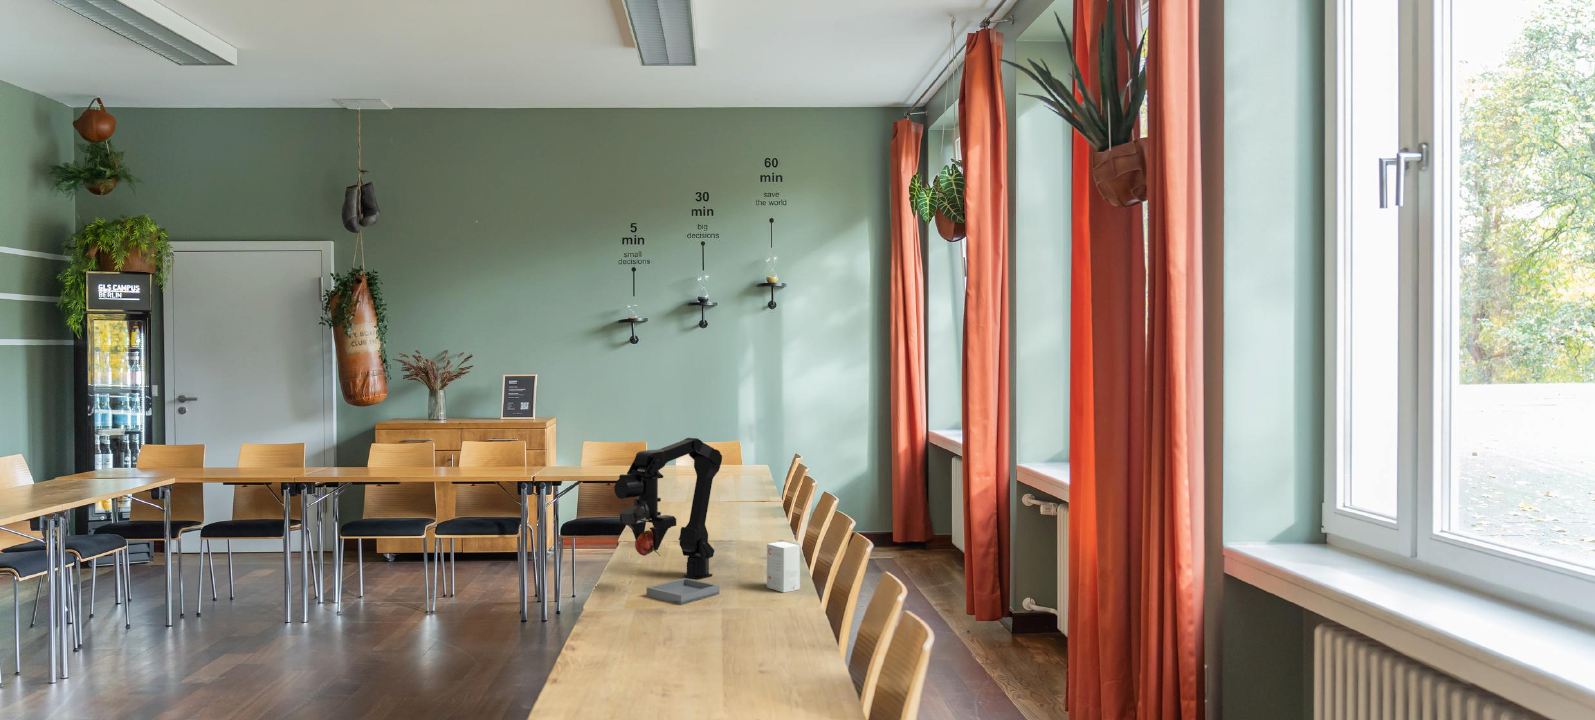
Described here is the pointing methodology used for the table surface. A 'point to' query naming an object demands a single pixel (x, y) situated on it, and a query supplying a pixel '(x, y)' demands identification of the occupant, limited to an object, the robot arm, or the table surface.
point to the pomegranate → (645, 543)
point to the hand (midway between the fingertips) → (647, 548)
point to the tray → (682, 591)
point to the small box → (783, 566)
